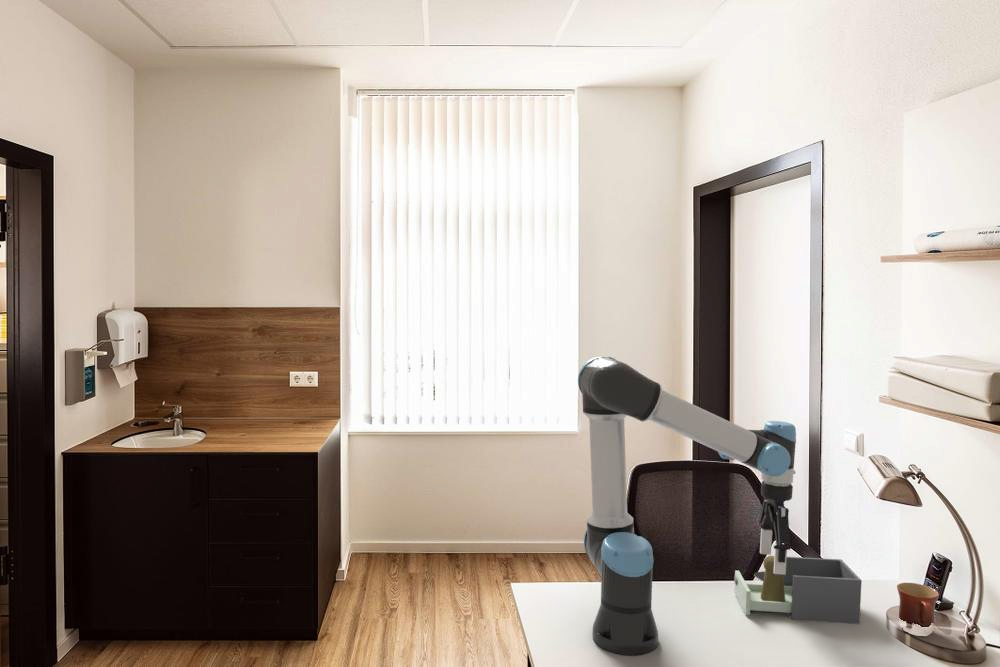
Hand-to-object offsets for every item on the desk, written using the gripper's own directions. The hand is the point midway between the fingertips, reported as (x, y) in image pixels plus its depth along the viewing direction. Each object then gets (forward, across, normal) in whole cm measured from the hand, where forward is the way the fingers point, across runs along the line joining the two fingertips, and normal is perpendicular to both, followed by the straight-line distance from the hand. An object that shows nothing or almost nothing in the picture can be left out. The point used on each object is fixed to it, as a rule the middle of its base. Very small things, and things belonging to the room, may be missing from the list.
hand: (772, 563), depth 183 cm
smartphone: (+12, +16, -7) cm, 21 cm away
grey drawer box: (+11, 0, -12) cm, 16 cm away
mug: (+11, -10, -32) cm, 35 cm away
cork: (+10, 0, -1) cm, 10 cm away
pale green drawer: (+11, 0, 0) cm, 11 cm away
